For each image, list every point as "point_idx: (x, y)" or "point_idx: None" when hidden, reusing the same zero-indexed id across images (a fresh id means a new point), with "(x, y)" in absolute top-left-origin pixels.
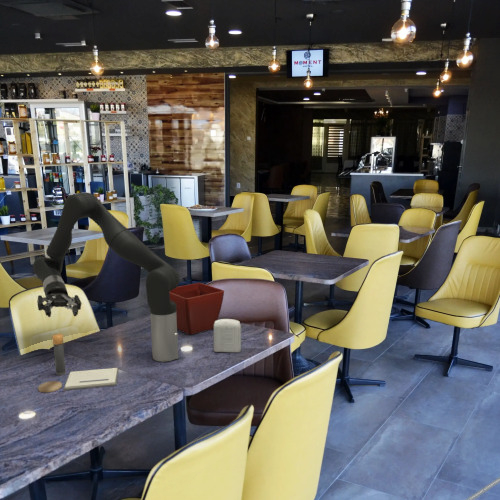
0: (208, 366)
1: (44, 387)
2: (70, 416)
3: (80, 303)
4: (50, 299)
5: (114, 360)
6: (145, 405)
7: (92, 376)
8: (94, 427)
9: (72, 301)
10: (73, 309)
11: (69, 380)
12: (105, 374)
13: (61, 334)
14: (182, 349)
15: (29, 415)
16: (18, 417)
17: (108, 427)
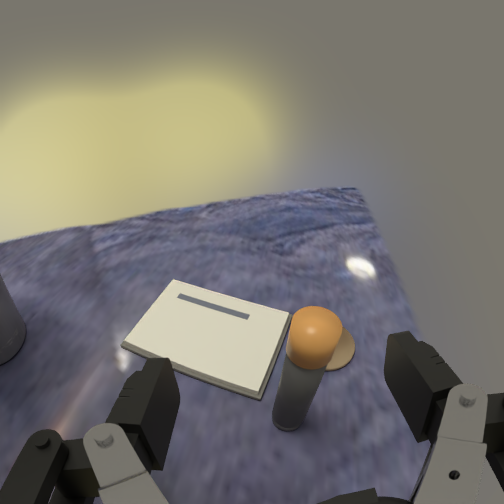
0: (3, 260)
1: (338, 341)
2: (288, 236)
3: (41, 437)
4: (470, 472)
5: (92, 416)
6: (171, 216)
7: (206, 329)
8: (260, 207)
9: (102, 487)
10: (157, 409)
11: (272, 338)
12: (171, 322)
13: (297, 328)
14: None
15: (357, 263)
16: (374, 266)
17: (242, 201)
